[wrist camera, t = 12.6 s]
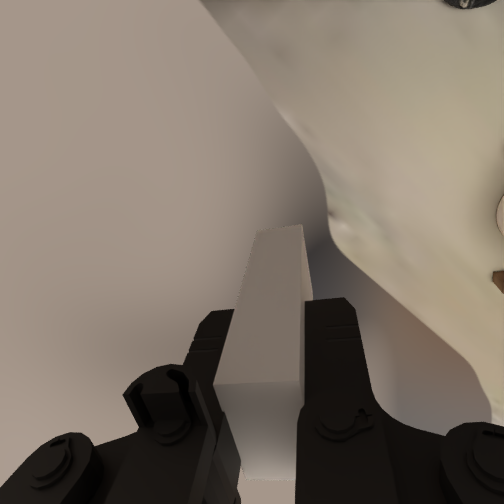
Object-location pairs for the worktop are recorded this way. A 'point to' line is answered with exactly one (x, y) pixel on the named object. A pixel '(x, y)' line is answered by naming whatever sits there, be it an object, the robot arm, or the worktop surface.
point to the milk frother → (469, 3)
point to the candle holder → (501, 216)
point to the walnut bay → (499, 280)
